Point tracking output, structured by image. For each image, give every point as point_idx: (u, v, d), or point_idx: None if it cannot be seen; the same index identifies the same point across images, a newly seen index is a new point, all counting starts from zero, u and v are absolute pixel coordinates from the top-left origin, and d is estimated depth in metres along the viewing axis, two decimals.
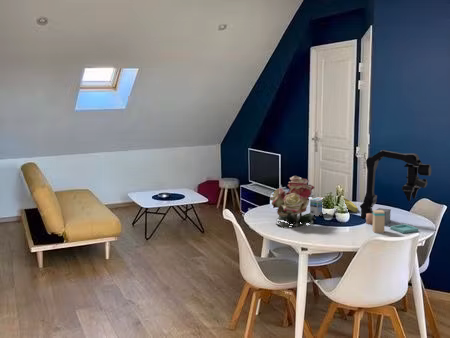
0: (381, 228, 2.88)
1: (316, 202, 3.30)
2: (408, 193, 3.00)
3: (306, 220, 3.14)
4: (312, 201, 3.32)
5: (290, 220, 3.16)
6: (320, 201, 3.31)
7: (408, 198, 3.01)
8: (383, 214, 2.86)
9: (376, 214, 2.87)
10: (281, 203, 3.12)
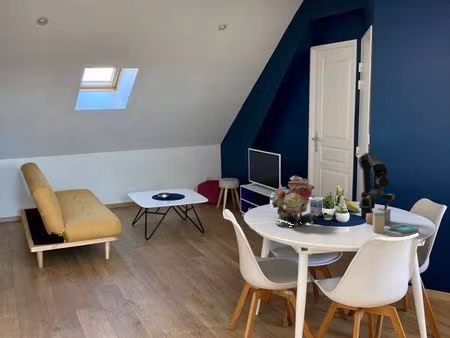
0: (381, 228, 2.88)
1: (316, 202, 3.30)
2: None
3: (306, 220, 3.14)
4: (312, 201, 3.32)
5: (290, 220, 3.16)
6: (320, 201, 3.31)
7: None
8: (383, 214, 2.86)
9: (376, 214, 2.87)
10: (281, 203, 3.12)
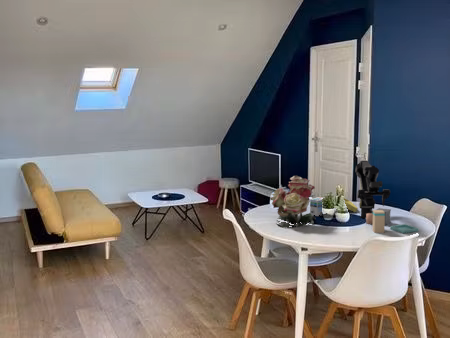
0: (381, 228, 2.88)
1: (316, 202, 3.30)
2: (364, 198, 3.01)
3: (306, 220, 3.14)
4: (312, 201, 3.32)
5: (290, 220, 3.16)
6: (320, 201, 3.31)
7: (365, 203, 2.99)
8: (383, 214, 2.86)
9: (376, 214, 2.87)
10: (281, 203, 3.12)
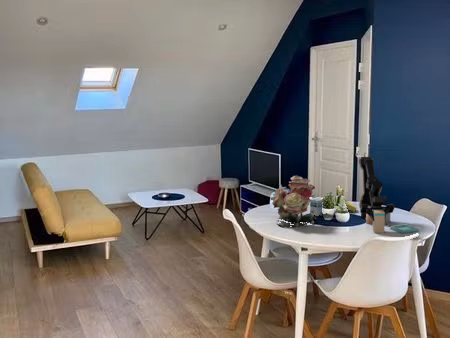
0: (381, 228, 2.87)
1: (316, 202, 3.30)
2: None
3: (307, 220, 3.14)
4: (312, 201, 3.32)
5: (291, 220, 3.16)
6: (320, 201, 3.31)
7: (372, 218, 2.90)
8: (383, 214, 2.86)
9: (376, 214, 2.87)
10: (282, 203, 3.12)
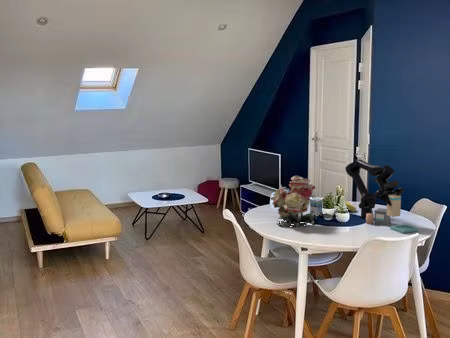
0: (398, 211, 2.97)
1: (316, 202, 3.30)
2: (385, 198, 2.99)
3: (307, 220, 3.14)
4: (312, 201, 3.32)
5: (291, 220, 3.16)
6: (320, 201, 3.31)
7: (388, 203, 2.97)
8: (400, 198, 2.96)
9: (394, 198, 2.95)
10: (282, 203, 3.12)
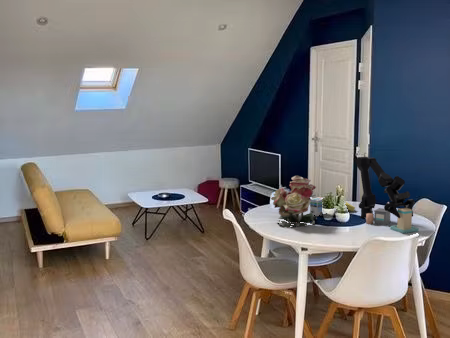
0: (409, 225, 2.89)
1: (316, 202, 3.30)
2: (394, 211, 2.90)
3: (307, 220, 3.14)
4: (312, 201, 3.32)
5: (291, 220, 3.17)
6: (320, 201, 3.31)
7: (397, 215, 2.89)
8: (411, 211, 2.89)
9: (405, 212, 2.87)
10: (283, 203, 3.12)
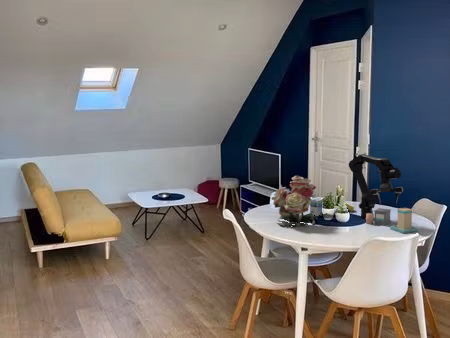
0: (409, 225, 2.89)
1: (316, 202, 3.30)
2: None
3: (308, 220, 3.15)
4: (312, 201, 3.32)
5: (292, 220, 3.17)
6: (320, 201, 3.31)
7: None
8: (411, 211, 2.89)
9: (405, 212, 2.87)
10: (283, 203, 3.12)
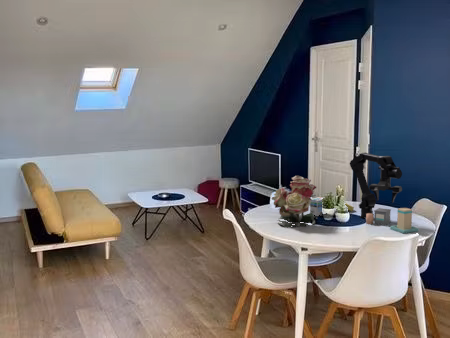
0: (409, 225, 2.89)
1: (316, 202, 3.30)
2: None
3: (308, 220, 3.15)
4: (312, 201, 3.32)
5: (292, 220, 3.17)
6: (320, 201, 3.31)
7: None
8: (411, 211, 2.89)
9: (405, 212, 2.87)
10: (283, 203, 3.13)
